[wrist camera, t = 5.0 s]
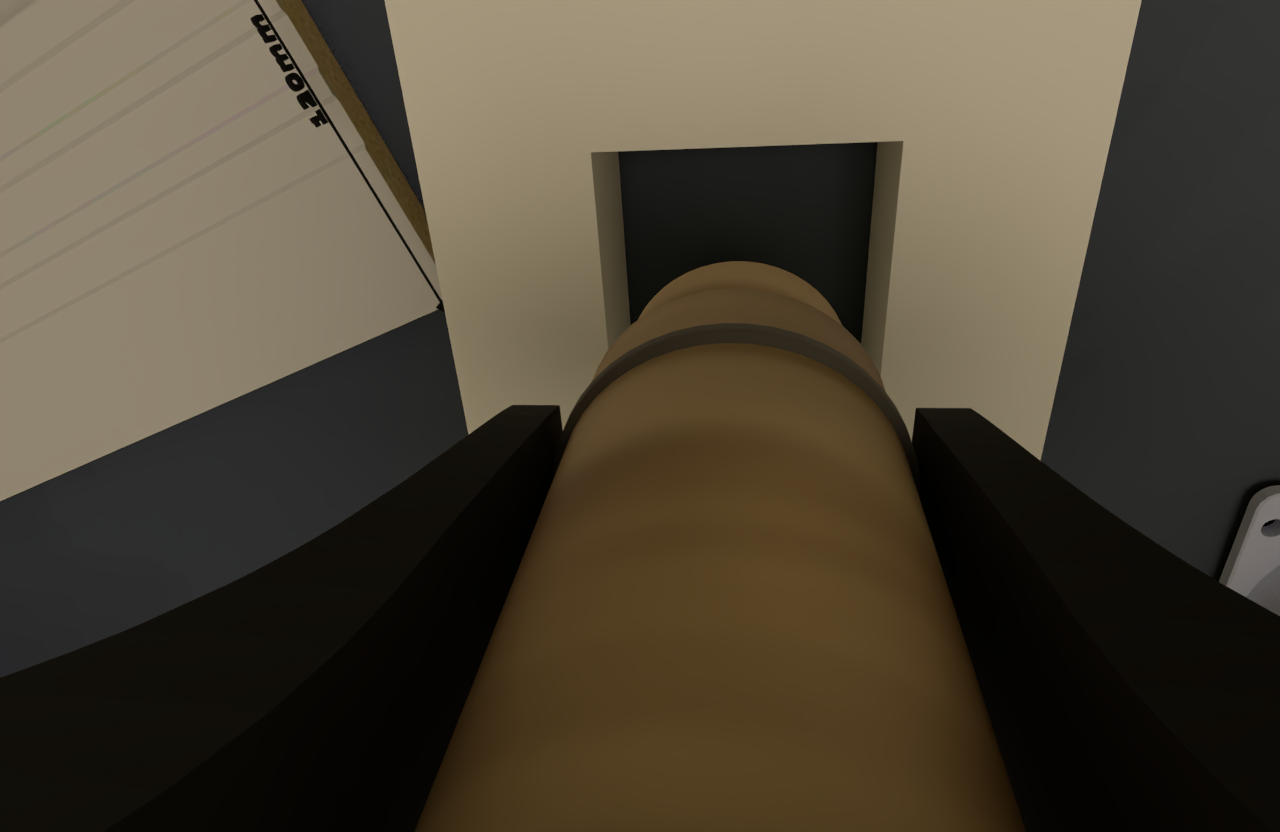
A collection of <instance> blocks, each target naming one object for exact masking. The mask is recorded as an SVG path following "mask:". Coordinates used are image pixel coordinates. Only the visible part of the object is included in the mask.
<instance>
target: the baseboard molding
mask: <svg viewBox="0 0 1280 832" xmlns="http://www.w3.org/2000/svg"><path fill="white" fill-rule="evenodd" d="M438 309H439V310H441V311H442V312H444V313H445V310H444V305H443V300H442V295H441V289H440V284H439V279H438V274H437V269H436V264H435V258H434V253H433V248H432V243H431V238H430V233H429V227H428V222H427V217H426V213H425V211H424V209H423V207H422V206H421V204H420V202H419V201H418V199H417V197H416V196H415V194H414V192H413V190H412V189H411V187H410V185H409V184H408V182H407V180H406V178H405V177H404V175H403V173H402V172H401V170H400V168H399V167H398V165H397V163H396V161H395V160H394V158H393V156H392V155H391V153H390V151H389V150H388V148H387V146H386V144H385V143H384V141H383V139H382V138H381V136H380V134H379V132H378V131H377V129H376V127H375V126H374V124H373V122H372V121H371V119H370V117H369V115H368V114H367V112H366V110H365V109H364V107H363V105H362V103H361V102H360V100H359V98H358V97H357V95H356V93H355V92H354V90H353V88H352V86H351V85H350V83H349V81H348V80H347V78H346V76H345V75H344V73H343V71H342V69H341V68H340V66H339V64H338V63H337V61H336V59H335V57H334V56H333V54H332V52H331V51H330V49H329V47H328V46H327V44H326V42H325V40H324V39H323V37H322V35H321V34H320V32H319V30H318V29H317V27H316V25H315V23H314V22H313V20H312V18H311V17H310V15H309V13H308V11H307V10H306V8H305V6H304V5H303V3H302V1H301V0H0V501H2V500H4V499H6V498H9V497H11V496H13V495H15V494H18V493H20V492H22V491H25V490H27V489H29V488H31V487H34V486H36V485H38V484H40V483H43V482H45V481H47V480H50V479H52V478H54V477H56V476H59V475H61V474H63V473H66V472H68V471H70V470H72V469H75V468H77V467H79V466H82V465H84V464H86V463H88V462H91V461H93V460H95V459H98V458H100V457H102V456H104V455H107V454H109V453H111V452H114V451H116V450H118V449H120V448H123V447H125V446H127V445H130V444H132V443H134V442H136V441H139V440H141V439H143V438H146V437H148V436H150V435H152V434H155V433H157V432H159V431H162V430H164V429H166V428H168V427H171V426H173V425H175V424H178V423H180V422H182V421H184V420H187V419H189V418H191V417H194V416H196V415H198V414H200V413H203V412H205V411H207V410H210V409H212V408H214V407H216V406H219V405H221V404H223V403H226V402H228V401H230V400H232V399H235V398H237V397H239V396H242V395H244V394H246V393H248V392H251V391H253V390H255V389H258V388H260V387H262V386H264V385H267V384H269V383H271V382H274V381H276V380H278V379H280V378H283V377H285V376H287V375H289V374H292V373H294V372H296V371H299V370H301V369H303V368H305V367H308V366H310V365H312V364H315V363H317V362H319V361H321V360H324V359H326V358H328V357H331V356H333V355H335V354H337V353H340V352H342V351H344V350H347V349H349V348H351V347H353V346H356V345H358V344H360V343H363V342H365V341H367V340H369V339H372V338H374V337H376V336H379V335H381V334H383V333H385V332H388V331H390V330H392V329H395V328H397V327H399V326H401V325H404V324H406V323H408V322H411V321H413V320H415V319H417V318H420V317H422V316H424V315H427V314H429V313H431V312H433V311H436V310H438Z"/></svg>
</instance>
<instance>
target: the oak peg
mask: <svg viewBox="0 0 1280 832" xmlns="http://www.w3.org/2000/svg"><path fill="white" fill-rule="evenodd" d="M552 479H553V482H552V484H551V487H550V489H549V492H548V494H547V497H546V500H545V502H544V505H543V507H542V510H541V512H540V515H539V517H538V520H537V522H536V525H535V527H534V530H533V532H532V535H531V538H530V540H529V543H528V545H527V548H526V550H525V553H524V555H523V558H522V560H521V563H520V565H519V568H518V570H517V573H516V576H515V578H514V581H513V583H512V586H511V588H510V591H509V593H508V596H507V598H506V601H505V603H504V606H503V609H502V611H501V614H500V616H499V619H498V621H497V624H496V626H495V629H494V631H493V634H492V636H491V639H490V641H489V644H488V647H487V649H486V652H485V654H484V657H483V659H482V662H481V664H480V667H479V669H478V672H477V674H476V677H475V679H474V682H473V685H472V687H471V690H470V692H469V695H468V697H467V700H466V702H465V705H464V707H463V710H462V712H461V715H460V718H459V720H458V723H457V725H456V728H455V730H454V733H453V735H452V738H451V740H450V743H449V745H448V748H447V750H446V753H445V756H444V758H443V761H442V763H441V766H440V768H439V771H438V773H437V776H436V778H435V781H434V783H433V786H432V788H431V791H430V794H429V796H428V799H427V801H426V804H425V806H424V809H423V811H422V814H421V816H420V819H419V821H418V824H417V827H416V829H415V832H1026V831H1025V828H1024V824H1023V821H1022V818H1021V815H1020V812H1019V809H1018V806H1017V802H1016V799H1015V796H1014V793H1013V790H1012V787H1011V784H1010V780H1009V777H1008V774H1007V771H1006V768H1005V765H1004V762H1003V758H1002V755H1001V752H1000V749H999V746H998V743H997V740H996V736H995V733H994V730H993V727H992V724H991V721H990V718H989V714H988V711H987V708H986V705H985V702H984V699H983V696H982V693H981V689H980V686H979V683H978V680H977V677H976V674H975V671H974V667H973V664H972V661H971V658H970V655H969V652H968V649H967V645H966V642H965V639H964V636H963V633H962V630H961V627H960V623H959V620H958V617H957V614H956V611H955V608H954V605H953V601H952V598H951V595H950V592H949V589H948V586H947V583H946V579H945V576H944V573H943V570H942V567H941V564H940V561H939V557H938V554H937V551H936V548H935V545H934V542H933V539H932V535H931V532H930V529H929V526H928V523H927V520H926V517H925V513H924V510H923V507H922V504H921V501H920V498H919V496H920V488H921V478H920V472H919V465H918V460H917V457H916V454H915V451H914V448H913V445H912V442H911V439H910V436H909V433H908V430H907V427H906V425H905V423H904V421H903V419H902V417H901V415H900V413H899V411H898V409H897V407H896V406H895V404H894V403H893V402H892V400H891V399H890V397H889V396H888V395H887V393H886V391H885V388H884V385H883V382H882V379H881V376H880V374H879V372H878V370H877V368H876V367H875V365H874V363H873V361H872V359H871V357H870V356H869V355H868V353H867V352H866V351H865V349H864V348H863V346H862V345H861V344H860V343H859V342H858V341H857V339H856V338H855V337H854V336H853V335H852V334H851V333H850V332H849V331H848V330H847V329H846V328H844V327H843V326H842V324H841V322H840V320H839V318H838V316H837V314H836V312H835V311H834V309H833V308H832V307H831V305H830V304H829V303H828V301H827V300H826V299H825V298H824V297H823V296H822V295H821V294H820V293H819V292H818V291H817V290H816V289H815V288H814V287H812V286H811V285H810V284H808V283H807V282H806V281H804V280H803V279H801V278H799V277H797V276H796V275H794V274H792V273H790V272H788V271H785V270H783V269H780V268H778V267H774V266H770V265H767V264H763V263H756V262H749V261H730V262H721V263H715V264H711V265H707V266H703V267H700V268H697V269H695V270H692V271H690V272H687V273H685V274H684V275H682V276H680V277H678V278H676V279H675V280H673V281H672V282H670V283H669V284H668V285H666V286H665V287H664V288H662V289H661V290H660V291H659V292H658V293H657V294H656V295H655V296H654V297H653V298H652V299H651V301H650V302H649V303H648V304H647V306H646V307H645V308H644V310H643V312H642V313H641V315H640V317H639V318H638V320H637V321H636V322H635V323H633V324H632V325H631V326H630V327H629V328H628V329H627V330H626V331H625V332H623V333H622V334H621V335H620V336H619V337H618V338H617V340H616V341H615V342H614V343H613V345H612V346H611V347H610V348H609V350H608V351H607V352H606V354H605V356H604V357H603V359H602V361H601V363H600V364H599V366H598V368H597V370H596V373H595V375H594V378H593V380H592V382H591V383H590V385H589V386H588V387H587V388H586V390H585V391H584V392H583V393H582V395H581V396H580V398H579V399H578V401H577V403H576V404H575V406H574V408H573V410H572V411H571V413H570V415H569V418H568V420H567V422H566V425H565V427H564V430H563V432H562V435H561V437H560V440H559V443H558V445H557V449H556V454H555V458H554V463H553V474H552Z"/></svg>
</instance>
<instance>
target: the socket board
mask: <svg viewBox="0 0 1280 832" xmlns="http://www.w3.org/2000/svg"><path fill="white" fill-rule="evenodd" d="M385 5H386V10H387V16H388V21H389V26H390V31H391V36H392V41H393V47H394V52H395V57H396V62H397V67H398V72H399V78H400V83H401V88H402V93H403V98H404V103H405V109H406V114H407V119H408V124H409V129H410V134H411V140H412V145H413V150H414V155H415V160H416V165H417V171H418V176H419V181H420V186H421V191H422V196H423V202H424V207H425V212H426V217H427V222H428V227H429V233H430V238H431V243H432V248H433V253H434V258H435V264H436V269H437V274H438V279H439V284H440V289H441V295H442V300H443V305H444V310H445V315H446V320H447V326H448V331H449V336H450V341H451V346H452V351H453V357H454V362H455V367H456V372H457V377H458V382H459V388H460V393H461V398H462V403H463V408H464V413H465V419H466V424H467V429H468V434H470V433H472V432H473V431H474V430H476V429H477V428H478V427H480V426H481V425H483V424H484V423H485V422H487V421H488V420H490V419H491V418H492V417H494V416H495V415H497V414H498V413H500V412H501V411H503V410H505V409H506V408H508V407H510V406H511V405H560V413H561V420H562V428H563V430H564V427H565V425H566V422H567V420H568V418H569V415H570V413H571V411H572V410H573V408H574V406H575V404H576V403H577V401H578V399H579V398H580V396H581V395H582V393H583V392H584V391H585V390H586V388H587V387H588V386H589V385H590V383H591V382H592V380H593V378H594V375H595V373H596V370H597V368H598V366H599V364H600V363H601V361H602V359H603V357H604V356H605V354H606V352H607V351H608V350H609V348H610V347H611V346H612V345H613V343H614V342H615V341H616V340H617V338H618V337H619V336H620V335H621V334H622V333H623V332H625V331H626V330H627V329H628V328H629V327H630V326H631V322H630V308H629V294H628V281H627V267H626V253H625V239H624V225H623V211H622V197H621V183H620V169H619V155H618V151H643V150H670V149H698V148H725V147H752V146H779V145H806V144H833V143H860V142H878V144H877V156H876V168H875V180H874V193H873V205H872V217H871V229H870V241H869V254H868V266H867V278H866V290H865V302H864V315H863V327H862V339H861V345H862V346H863V348H864V349H865V351H866V352H867V353H868V355H869V356H870V357H871V359H872V361H873V363H874V365H875V367H876V368H877V370H878V372H879V374H880V376H881V379H882V382H883V385H884V388H885V391H886V393H887V395H888V396H889V397H890V399H891V400H892V402H893V403H894V404H895V406H896V407H897V409H898V411H899V413H900V415H901V417H902V419H903V421H904V423H905V425H906V427H907V430H908V433H909V436H910V439H911V442H912V435H913V427H914V419H915V411H916V408H971V409H973V410H974V411H976V412H977V413H979V414H980V415H982V416H983V417H984V418H986V419H987V420H989V421H990V422H991V423H992V424H994V425H995V426H996V427H998V428H999V429H1000V430H1002V431H1003V432H1004V433H1006V434H1007V435H1008V436H1009V437H1011V438H1012V439H1013V440H1014V441H1016V442H1017V443H1018V444H1020V445H1021V446H1022V447H1023V448H1025V449H1026V450H1027V451H1029V452H1030V453H1031V454H1032V455H1034V456H1035V457H1036V458H1038V459H1039V460H1041V455H1042V451H1043V446H1044V442H1045V437H1046V433H1047V428H1048V424H1049V419H1050V415H1051V410H1052V405H1053V401H1054V396H1055V392H1056V387H1057V383H1058V378H1059V374H1060V369H1061V364H1062V360H1063V355H1064V351H1065V346H1066V342H1067V337H1068V333H1069V328H1070V324H1071V319H1072V314H1073V310H1074V305H1075V301H1076V296H1077V292H1078V287H1079V283H1080V278H1081V273H1082V269H1083V264H1084V260H1085V255H1086V251H1087V246H1088V242H1089V237H1090V233H1091V228H1092V223H1093V219H1094V214H1095V210H1096V205H1097V201H1098V196H1099V192H1100V187H1101V182H1102V178H1103V173H1104V169H1105V164H1106V160H1107V155H1108V151H1109V146H1110V142H1111V137H1112V132H1113V128H1114V123H1115V119H1116V114H1117V110H1118V105H1119V101H1120V96H1121V91H1122V87H1123V82H1124V78H1125V73H1126V69H1127V64H1128V60H1129V55H1130V51H1131V46H1132V41H1133V37H1134V32H1135V28H1136V23H1137V19H1138V14H1139V10H1140V5H1141V0H385Z"/></svg>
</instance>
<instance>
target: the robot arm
mask: <svg viewBox="0 0 1280 832" xmlns="http://www.w3.org/2000/svg"><path fill="white" fill-rule="evenodd" d="M562 432H563V428H562V420H561V413H560V405H511V406H510V407H508V408H506V409H505V410H503V411H501V412H500V413H498V414H497V415H495V416H494V417H492V418H491V419H490V420H488V421H487V422H485V423H484V424H483V425H481V426H480V427H478V428H477V429H476V430H474V431H473V432H472V433H470V434H469V435H467V436H466V437H465V438H463V439H462V440H461V441H459V442H458V443H457V444H455V445H454V446H452V447H451V448H450V449H448V450H447V451H446V452H444V453H443V454H441V455H440V456H439V457H437V458H436V459H434V460H433V461H432V462H430V463H429V464H427V465H426V466H425V467H423V468H422V469H421V470H419V471H418V472H416V473H415V474H414V475H412V476H411V477H409V478H408V479H407V480H405V481H404V482H402V483H401V484H399V485H398V486H396V487H395V488H393V489H391V490H390V491H388V492H387V493H385V494H384V495H382V496H381V497H379V498H378V499H376V500H375V501H373V502H372V503H370V504H369V505H367V506H365V507H364V508H362V509H361V510H359V511H358V512H356V513H355V514H353V515H352V516H350V517H349V518H347V519H346V520H344V521H343V522H341V523H339V524H338V525H336V526H335V527H333V528H331V529H330V530H328V531H326V532H325V533H323V534H321V535H320V536H318V537H316V538H314V539H313V540H311V541H309V542H307V543H306V544H304V545H302V546H300V547H299V548H297V549H295V550H293V551H291V552H289V553H288V554H286V555H284V556H282V557H280V558H278V559H276V560H275V561H273V562H271V563H269V564H267V565H265V566H263V567H261V568H260V569H258V570H256V571H254V572H252V573H250V574H248V575H246V576H244V577H242V578H240V579H238V580H236V581H234V582H232V583H230V584H228V585H226V586H223V587H221V588H219V589H217V590H215V591H212V592H210V593H208V594H206V595H204V596H201V597H199V598H197V599H195V600H193V601H190V602H188V603H186V604H184V605H182V606H179V607H177V608H175V609H173V610H171V611H168V612H166V613H164V614H162V615H160V616H157V617H155V618H153V619H151V620H149V621H146V622H144V623H142V624H140V625H137V626H135V627H133V628H130V629H128V630H125V631H123V632H121V633H118V634H115V635H113V636H110V637H108V638H105V639H103V640H100V641H98V642H95V643H93V644H90V645H88V646H85V647H83V648H80V649H78V650H75V651H73V652H70V653H67V654H65V655H62V656H59V657H56V658H54V659H51V660H48V661H46V662H43V663H40V664H37V665H35V666H32V667H29V668H26V669H24V670H21V671H18V672H16V673H13V674H10V675H7V676H4V677H2V678H0V832H415V829H416V827H417V824H418V821H419V819H420V816H421V814H422V811H423V809H424V806H425V804H426V801H427V799H428V796H429V794H430V791H431V788H432V786H433V783H434V781H435V778H436V776H437V773H438V771H439V768H440V766H441V763H442V761H443V758H444V756H445V753H446V750H447V748H448V745H449V743H450V740H451V738H452V735H453V733H454V730H455V728H456V725H457V723H458V720H459V718H460V715H461V712H462V710H463V707H464V705H465V702H466V700H467V697H468V695H469V692H470V690H471V687H472V685H473V682H474V679H475V677H476V674H477V672H478V669H479V667H480V664H481V662H482V659H483V657H484V654H485V652H486V649H487V647H488V644H489V641H490V639H491V636H492V634H493V631H494V629H495V626H496V624H497V621H498V619H499V616H500V614H501V611H502V609H503V606H504V603H505V601H506V598H507V596H508V593H509V591H510V588H511V586H512V583H513V581H514V578H515V576H516V573H517V570H518V568H519V565H520V563H521V560H522V558H523V555H524V553H525V550H526V548H527V545H528V543H529V540H530V538H531V535H532V532H533V530H534V527H535V525H536V522H537V520H538V517H539V515H540V512H541V510H542V507H543V505H544V502H545V500H546V497H547V494H548V492H549V489H550V487H551V484H552V482H553V479H552V474H553V463H554V458H555V454H556V449H557V445H558V443H559V440H560V437H561V435H562ZM912 445H913V448H914V451H915V454H916V457H917V460H918V465H919V472H920V478H921V488H920V496H919V498H920V501H921V504H922V507H923V510H924V513H925V517H926V520H927V523H928V526H929V529H930V532H931V535H932V539H933V542H934V545H935V548H936V551H937V554H938V557H939V561H940V564H941V567H942V570H943V573H944V576H945V579H946V583H947V586H948V589H949V592H950V595H951V598H952V601H953V605H954V608H955V611H956V614H957V617H958V620H959V623H960V627H961V630H962V633H963V636H964V639H965V642H966V645H967V649H968V652H969V655H970V658H971V661H972V664H973V667H974V671H975V674H976V677H977V680H978V683H979V686H980V689H981V693H982V696H983V699H984V702H985V705H986V708H987V711H988V714H989V718H990V721H991V724H992V727H993V730H994V733H995V736H996V740H997V743H998V746H999V749H1000V752H1001V755H1002V758H1003V762H1004V765H1005V768H1006V771H1007V774H1008V777H1009V780H1010V784H1011V787H1012V790H1013V793H1014V796H1015V799H1016V802H1017V806H1018V809H1019V812H1020V815H1021V818H1022V821H1023V824H1024V828H1025V831H1026V832H1280V485H1276V486H1269V487H1267V488H1264V489H1262V490H1260V491H1259V492H1257V493H1256V494H1255V495H1254V496H1253V497H1252V499H1251V500H1250V502H1249V504H1248V507H1247V509H1246V512H1245V515H1244V517H1243V520H1242V522H1241V525H1240V528H1239V530H1238V533H1237V535H1236V538H1235V541H1234V543H1233V546H1232V549H1231V551H1230V554H1229V556H1228V559H1227V562H1226V564H1225V567H1224V569H1223V572H1222V575H1221V577H1220V580H1219V582H1218V581H1216V580H1214V579H1213V578H1211V577H1209V576H1208V575H1206V574H1204V573H1203V572H1201V571H1200V570H1198V569H1196V568H1195V567H1193V566H1191V565H1190V564H1188V563H1186V562H1185V561H1183V560H1182V559H1180V558H1178V557H1177V556H1175V555H1174V554H1172V553H1171V552H1169V551H1168V550H1166V549H1165V548H1163V547H1162V546H1160V545H1158V544H1157V543H1155V542H1154V541H1152V540H1151V539H1149V538H1148V537H1146V536H1145V535H1143V534H1142V533H1140V532H1139V531H1137V530H1136V529H1134V528H1133V527H1131V526H1130V525H1128V524H1126V523H1125V522H1124V521H1122V520H1121V519H1119V518H1118V517H1116V516H1115V515H1114V514H1112V513H1111V512H1109V511H1108V510H1106V509H1105V508H1104V507H1102V506H1101V505H1099V504H1098V503H1097V502H1095V501H1094V500H1092V499H1091V498H1090V497H1088V496H1087V495H1085V494H1084V493H1083V492H1081V491H1080V490H1079V489H1077V488H1076V487H1075V486H1073V485H1072V484H1071V483H1069V482H1068V481H1067V480H1065V479H1064V478H1063V477H1061V476H1060V475H1059V474H1057V473H1056V472H1055V471H1053V470H1052V469H1051V468H1049V467H1048V466H1047V465H1045V464H1044V463H1043V462H1041V461H1040V460H1039V459H1038V458H1036V457H1035V456H1034V455H1032V454H1031V453H1030V452H1029V451H1027V450H1026V449H1025V448H1023V447H1022V446H1021V445H1020V444H1018V443H1017V442H1016V441H1014V440H1013V439H1012V438H1011V437H1009V436H1008V435H1007V434H1006V433H1004V432H1003V431H1002V430H1000V429H999V428H998V427H996V426H995V425H994V424H992V423H991V422H990V421H989V420H987V419H986V418H984V417H983V416H982V415H980V414H979V413H977V412H976V411H974V410H973V409H971V408H916V411H915V419H914V427H913V435H912ZM1275 519H1276V520H1275ZM1270 520H1275V521H1274V523H1272V524H1270V525H1268V526H1264V527H1262V526H1263V525H1264V524H1265V523H1266V522H1268V521H1270Z"/></svg>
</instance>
